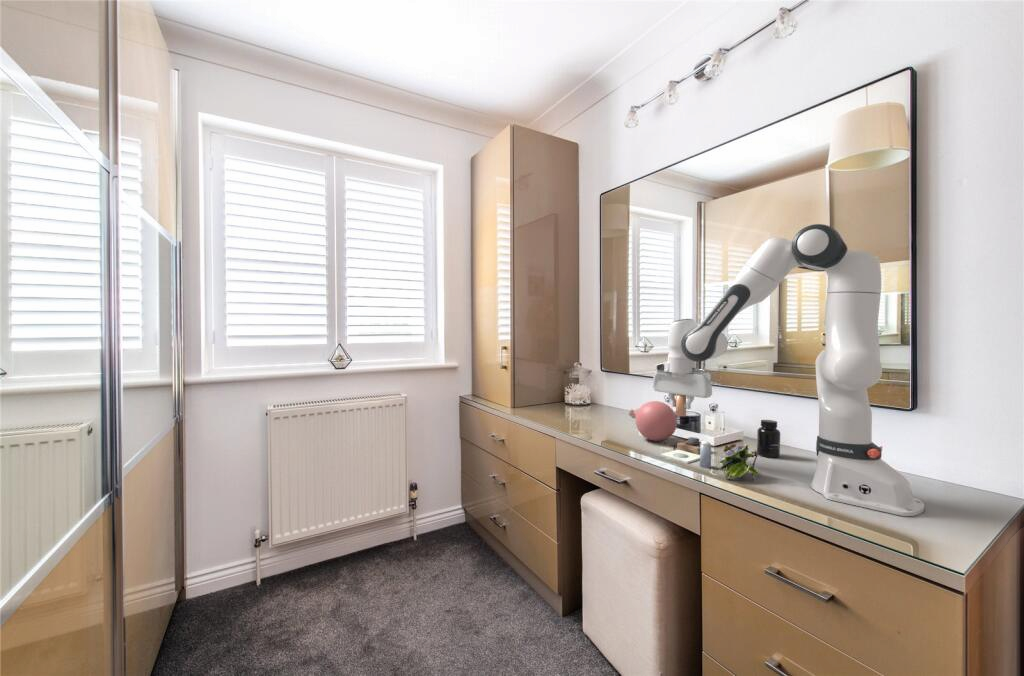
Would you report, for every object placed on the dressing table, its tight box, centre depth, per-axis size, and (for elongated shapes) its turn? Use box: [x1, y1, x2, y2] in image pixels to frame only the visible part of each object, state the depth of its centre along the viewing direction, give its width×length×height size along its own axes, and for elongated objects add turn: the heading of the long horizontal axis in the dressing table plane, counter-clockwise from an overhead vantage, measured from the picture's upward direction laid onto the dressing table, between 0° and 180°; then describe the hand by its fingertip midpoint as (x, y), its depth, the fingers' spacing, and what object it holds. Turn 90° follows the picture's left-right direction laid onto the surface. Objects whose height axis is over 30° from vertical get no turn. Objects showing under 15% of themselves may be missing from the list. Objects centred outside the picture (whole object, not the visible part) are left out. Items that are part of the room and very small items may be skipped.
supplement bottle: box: [756, 419, 781, 459], centre depth 145 cm, size 7×7×12 cm
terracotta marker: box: [675, 394, 687, 417], centre depth 143 cm, size 3×3×8 cm
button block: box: [676, 440, 701, 455], centre depth 151 cm, size 8×8×2 cm
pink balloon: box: [627, 400, 678, 442], centre depth 167 cm, size 15×20×15 cm
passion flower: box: [718, 443, 760, 481], centre depth 124 cm, size 11×11×12 cm
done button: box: [687, 436, 700, 446], centre depth 151 cm, size 4×4×3 cm
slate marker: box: [699, 440, 712, 469], centre depth 134 cm, size 3×3×8 cm
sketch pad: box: [660, 449, 700, 464], centre depth 144 cm, size 10×10×1 cm
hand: (681, 407), depth 143 cm, fingers closed on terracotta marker, 3 cm apart
